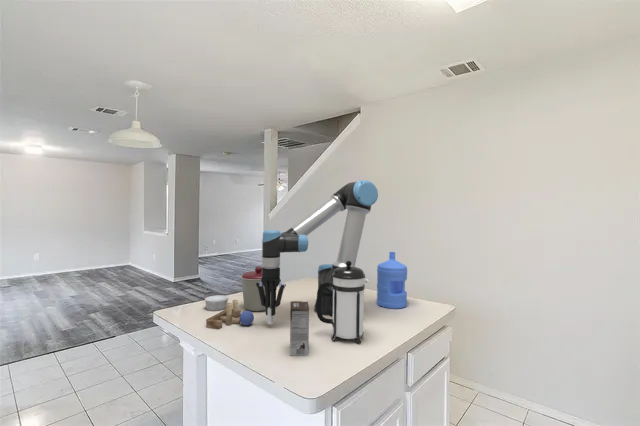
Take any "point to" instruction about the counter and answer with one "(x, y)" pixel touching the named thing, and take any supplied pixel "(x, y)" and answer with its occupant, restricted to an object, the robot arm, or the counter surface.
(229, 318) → the pin
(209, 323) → the rail
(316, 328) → the counter surface
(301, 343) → the coffee box
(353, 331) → the coffee press
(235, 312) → the pin
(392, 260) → the water jug
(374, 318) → the counter surface
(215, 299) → the ramekin
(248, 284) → the canister
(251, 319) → the ball
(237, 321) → the pin front
